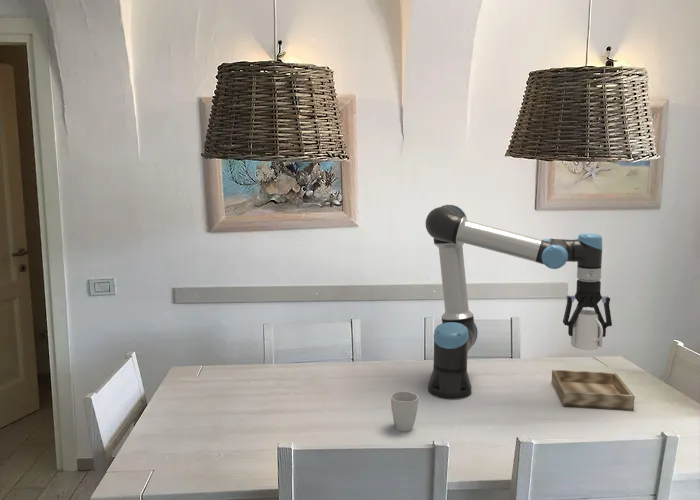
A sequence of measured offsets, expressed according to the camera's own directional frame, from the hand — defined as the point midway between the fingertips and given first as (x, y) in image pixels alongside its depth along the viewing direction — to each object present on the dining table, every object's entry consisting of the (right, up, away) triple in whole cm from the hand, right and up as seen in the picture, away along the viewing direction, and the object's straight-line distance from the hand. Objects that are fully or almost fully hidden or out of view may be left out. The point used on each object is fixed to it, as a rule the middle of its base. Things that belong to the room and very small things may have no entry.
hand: (586, 345), depth 206 cm
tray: (+2, -18, +3) cm, 18 cm away
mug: (+1, -1, 0) cm, 1 cm away
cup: (-64, -22, -22) cm, 71 cm away
